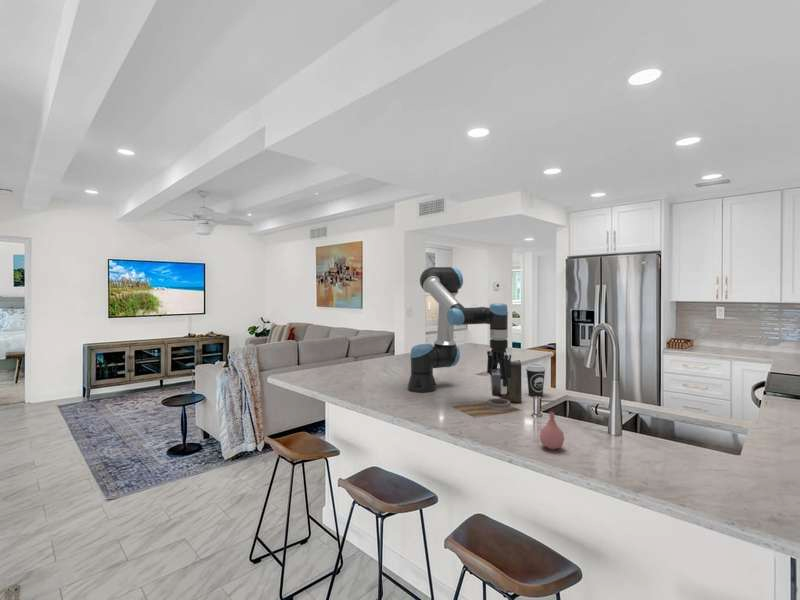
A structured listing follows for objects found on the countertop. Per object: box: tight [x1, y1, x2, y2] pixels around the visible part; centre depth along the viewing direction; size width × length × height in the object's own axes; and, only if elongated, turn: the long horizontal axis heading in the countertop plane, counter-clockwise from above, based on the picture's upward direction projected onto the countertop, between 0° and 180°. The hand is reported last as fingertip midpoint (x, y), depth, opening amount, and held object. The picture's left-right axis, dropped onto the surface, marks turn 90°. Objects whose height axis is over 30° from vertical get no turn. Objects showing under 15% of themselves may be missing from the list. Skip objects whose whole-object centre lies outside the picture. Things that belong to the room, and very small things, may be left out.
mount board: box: [451, 398, 522, 419], centre depth 181 cm, size 18×24×4 cm
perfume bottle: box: [539, 411, 565, 451], centre depth 139 cm, size 8×8×12 cm
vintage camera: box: [500, 359, 523, 404], centre depth 201 cm, size 10×15×20 cm, turn 174°
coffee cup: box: [525, 363, 547, 398], centre depth 206 cm, size 10×10×15 cm
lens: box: [491, 367, 506, 398], centre depth 182 cm, size 6×6×11 cm
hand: (498, 391), depth 182 cm, fingers closed on lens, 6 cm apart
